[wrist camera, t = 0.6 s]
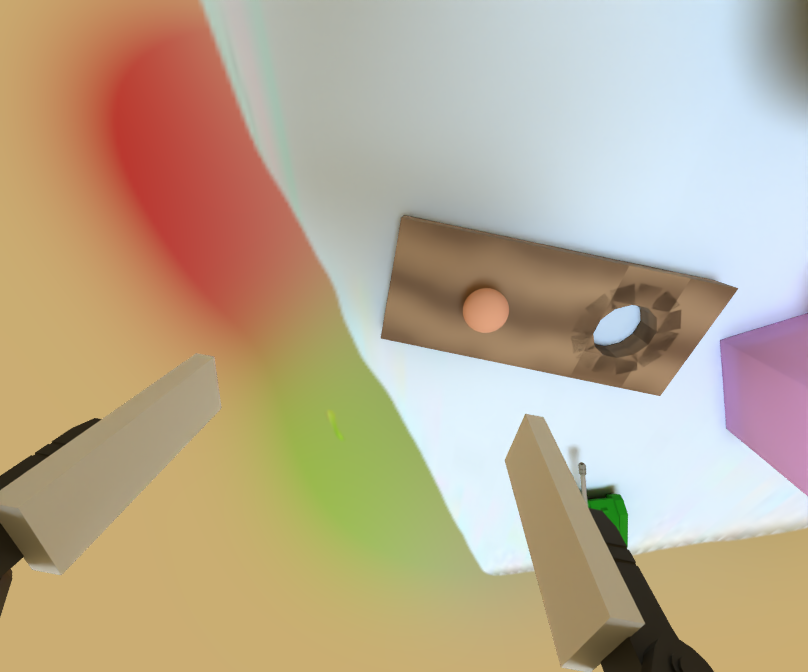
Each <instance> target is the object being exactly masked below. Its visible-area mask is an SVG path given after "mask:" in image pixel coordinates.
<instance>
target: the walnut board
mask: <svg viewBox="0 0 808 672" xmlns="http://www.w3.org/2000/svg"><path fill="white" fill-rule="evenodd" d="M482 288H491V289H494V290H497V291H498V292H500V293H501V294H502V295H503V296H504V297H505V298H506V300H507V302H508V305H509V315H508V318H507V320H506V322H505V323H504V325H503V326H502V327H501V328H499V329H498V330H496V331H493V332H490V333H481V332H477V331H475V330H473V329H472V328H470V327H469V326H468V324H467V323H466V321H465V319H464V316H463V306H464V303H465V300H466V299H467V297H468V296H469V295H470V294H471V293H473V292H474V291H476V290H479V289H482ZM737 290H738V288H736V287H733V286H730V285H727V284H724V283H721V282H718V281H715V280H710V279H706V278H701V277H696V276H691V275H687V274H682V273H677V272H672V271H667V270H663V269H658V268H653V267H648V266H644V265H639V264H634V263H629V262H625V261H620V260H615V259H610V258H606V257H601V256H596V255H591V254H587V253H582V252H577V251H572V250H567V249H563V248H558V247H553V246H548V245H544V244H539V243H534V242H529V241H525V240H520V239H515V238H510V237H506V236H501V235H496V234H491V233H487V232H482V231H477V230H472V229H467V228H463V227H458V226H453V225H448V224H444V223H439V222H434V221H429V220H425V219H420V218H415V217H410V216H406V215H404V216H403V217H402V218H401V223H400V229H399V235H398V240H397V246H396V252H395V258H394V264H393V270H392V275H391V281H390V287H389V293H388V299H387V305H386V310H385V316H384V322H383V328H382V334H381V338H382V339H387V340H391V341H396V342H401V343H406V344H411V345H416V346H420V347H425V348H430V349H435V350H440V351H445V352H449V353H454V354H459V355H464V356H469V357H474V358H478V359H483V360H488V361H493V362H498V363H503V364H508V365H512V366H517V367H522V368H527V369H532V370H537V371H541V372H546V373H551V374H556V375H561V376H566V377H570V378H575V379H580V380H585V381H590V382H595V383H599V384H604V385H609V386H614V387H619V388H624V389H629V390H633V391H638V392H643V393H648V394H653V395H658V396H660V395H661V394H662V393H663V391H664V390H665V388H666V387H667V386H668V384H669V383H670V382H671V380H672V379H673V377H674V376H675V375H676V373H677V372H678V371H679V369H680V368H681V367H682V365H683V364H684V362H685V361H686V360H687V358H688V357H689V356H690V354H691V353H692V351H693V350H694V349H695V347H696V346H697V345H698V343H699V342H700V340H701V339H702V338H703V336H704V335H705V334H706V332H707V331H708V329H709V328H710V327H711V325H712V324H713V323H714V321H715V320H716V318H717V317H718V316H719V314H720V313H721V312H722V310H723V309H724V307H725V306H726V305H727V303H728V302H729V301H730V299H731V298H732V296H733V295H734V294H735V292H736V291H737ZM629 305H636V306H639V307H640V311H641V321H640V323H639V325H638V326H637V328H636V330H635V331H634V333H633V334H632V335H630V336H629V337H628V338H626V339H625V340H623V341H622V342H620V343H617V344H612V345H608V346H602V345H597V344H594V337H593V333H594V331H595V329H596V327H597V325H598V324H599V322H600V320H601V319H602V318H604V317H605V316H606V315H608V314H609V313H610V312H612V311H613V310H614V309H617V308H621V307H625V306H629Z"/></svg>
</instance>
